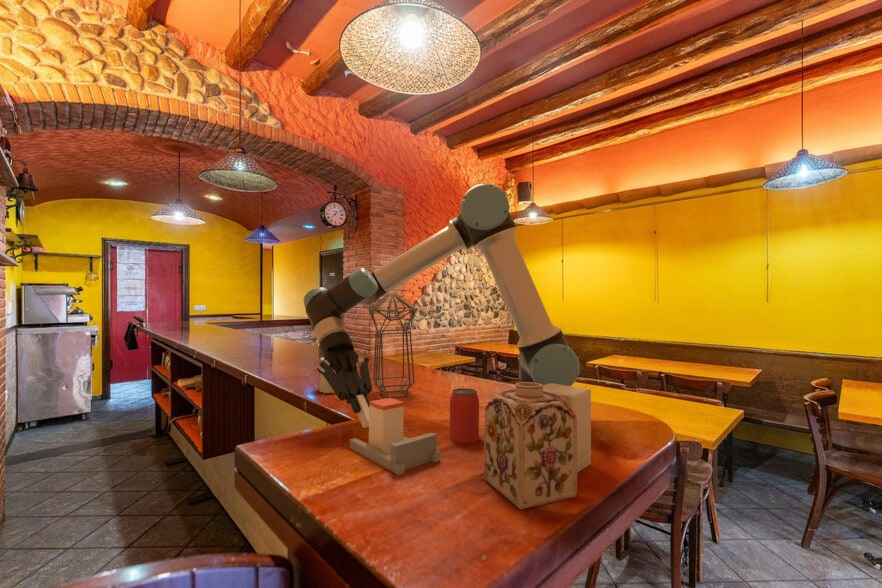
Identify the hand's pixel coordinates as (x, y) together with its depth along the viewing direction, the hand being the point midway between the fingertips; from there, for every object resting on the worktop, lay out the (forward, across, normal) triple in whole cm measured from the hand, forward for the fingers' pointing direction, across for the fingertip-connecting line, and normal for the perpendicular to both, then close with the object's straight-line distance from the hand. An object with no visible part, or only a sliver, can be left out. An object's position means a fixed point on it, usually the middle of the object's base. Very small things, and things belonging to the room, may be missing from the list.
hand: (368, 423), depth 85 cm
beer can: (+12, -18, +4) cm, 22 cm away
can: (-35, -20, -44) cm, 60 cm away
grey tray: (+11, 0, +3) cm, 11 cm away
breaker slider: (+7, 0, +2) cm, 7 cm away
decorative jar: (+27, -12, +20) cm, 36 cm away
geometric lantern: (-22, -32, -30) cm, 50 cm away
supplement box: (+26, -25, +18) cm, 40 cm away
